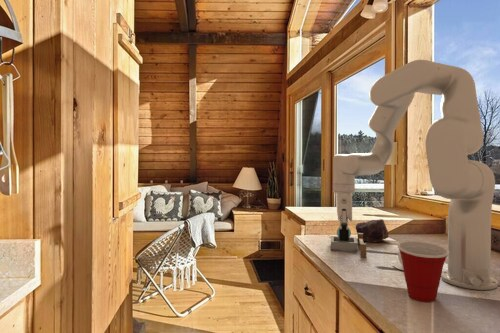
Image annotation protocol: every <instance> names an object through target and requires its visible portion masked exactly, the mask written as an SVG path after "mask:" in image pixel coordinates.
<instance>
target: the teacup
mask: <svg viewBox="0 0 500 333" xmlns="http://www.w3.org/2000/svg"><path fill="white" fill-rule="evenodd" d="M397 258H398V262H394V263H392V266H393V267H394V268H396V269H398V270H401V271H404V269H403V263H402V259H401V254H400V250H399V249H398V250H397Z"/></svg>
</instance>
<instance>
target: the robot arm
mask: <svg viewBox="0 0 500 333" xmlns="http://www.w3.org/2000/svg"><path fill="white" fill-rule="evenodd" d="M415 93H421V94H425V95H437V96H441V97H442V98H441V100H440V101H441V102H440V113H441V118H439V119H436V120H434V122H432V123H431V124H430V126H429V127H428V129H427V131H426V134H425V139H424V140H425V143H424V144H425V152H426V161H427V166H428V173H429V174H428V175H429V181H430V184H431V186H432V188H433V190H434V191H435V193H436V194H437V195H438V196H440V197H442V198H443V199H445V200H450V201H449V204H448V213H447V215H448V217H447V249H448V250H449V255H448V256H447V270H444V271H443V270H442V274H441V279H442V281H444V282H446V283H447V284H450V285H453V286H455V287H459V288H464V289H470V290H477V291H478V290H479V291H480V290H481V291H486V290H488V291H490V290H493V289H497V288H498V286H499V281H498V280H497V279H496V278H495V277H493V276H491V274H492V273H491V270H492V269H491V266H492V265H491V263H492V262H491V261H492V260H491V259H492V258H491V255H492V253H491V252H492V250H491V249H492V241H491V240H492V209H493V200H494V194H495V189H496V188H495V187H496V177H495V174H494V172H493V170H492V169H491V168H490V167H489V165H488V164H485V163H484V162H481V161H478V160H474V159H473V160H471V159H469V158H468V156H469V155H473V154H475V153H477V152H479V151H480V150H481V148H482V146H483V143H484V133H483V127H482V119H481V115H480V109H479V104H478V103H479V102H478V96H477V89H476V82H475V80H474V78H473V76H472V74H471V73H470V72H469V71H468V70H466V69H464V68H463V67H459V66H454V65H450V64H449V65H448V64H445V63H440V62H435V61H431V60H427V59H416V60H412V61H409V62H407V63H405V64H404V65H402V66H400V67H398V68H395V69H394V70H392V71H390V72H389V73H386V74H384V75H383V76H381V77H380V78H378V79H377V80H376V81H375V82H374V83H373V84H372V86H371V88H370V91H369V99H370V102H371V103H372V104H373V105H375V106H376V108H375V109H374V112H373V113H372V115H371V117H370V118H369V120H368V127H369V128H370V130H371V131H372V132H373V133H375V136H376V137H375V138H376V139H375V143H374V145H373V147H372V149H371V150H370V152H368V153H367V152H365V153H364V152H363V153H360V152H359V153H356V152H355V153H350V154H347V153H346V154H345V153H342V154H341V153H340V154H335V155H334V156H333V158H332V163H333V164H332V169H333V170H332V174H333V175H332V177H333V178H332V189H333V190H332V193H334V194H336V213H337V215H336V216H337V220H338V221H339V226H338V228H339V227H340V229H339V240H340V241H349V230H348V228H349V221H350V222H352V221H353V195H352V194H355V192H356V191H355V190H356V179H355V178H356V177H355V176H370V175H371V176H373V175H376V174H379V173H380V172H381V171H382V170H383V169H384V168H385V166H386V165H387V163H388V161H389V159H390V158H391V156H392V153H393V152H394V151H393V149H394V140H395V139H394V135H395V131H396V130H397V128H398V126H399V125H400V123H401V121H402V119H403V117H404V116H405V115H406V112H407V111H408V109H409V107H410V105H411V104H412V102H413V100H414V98H415Z"/></svg>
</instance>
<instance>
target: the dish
mask: <svg viewBox="0 0 500 333" xmlns="http://www.w3.org/2000/svg"><path fill="white" fill-rule="evenodd" d="M358 247H359V246H358V238H357V237H356V236H355V237H354V236H352V237H351V236H350V237H349V241H340V240H339V237H338V236H333V235H332V236H331V237H330V251H336V252H337V251H340V252H353V253H356V252H357V253H358Z"/></svg>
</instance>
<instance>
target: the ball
mask: <svg viewBox="0 0 500 333" xmlns="http://www.w3.org/2000/svg"><path fill="white" fill-rule="evenodd" d="M339 229H340V227H339V226H338V228H337V230H336V235H337V236H336V237H339ZM348 230H349V237H351V235H352V231H351V229H350V227H348Z"/></svg>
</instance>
